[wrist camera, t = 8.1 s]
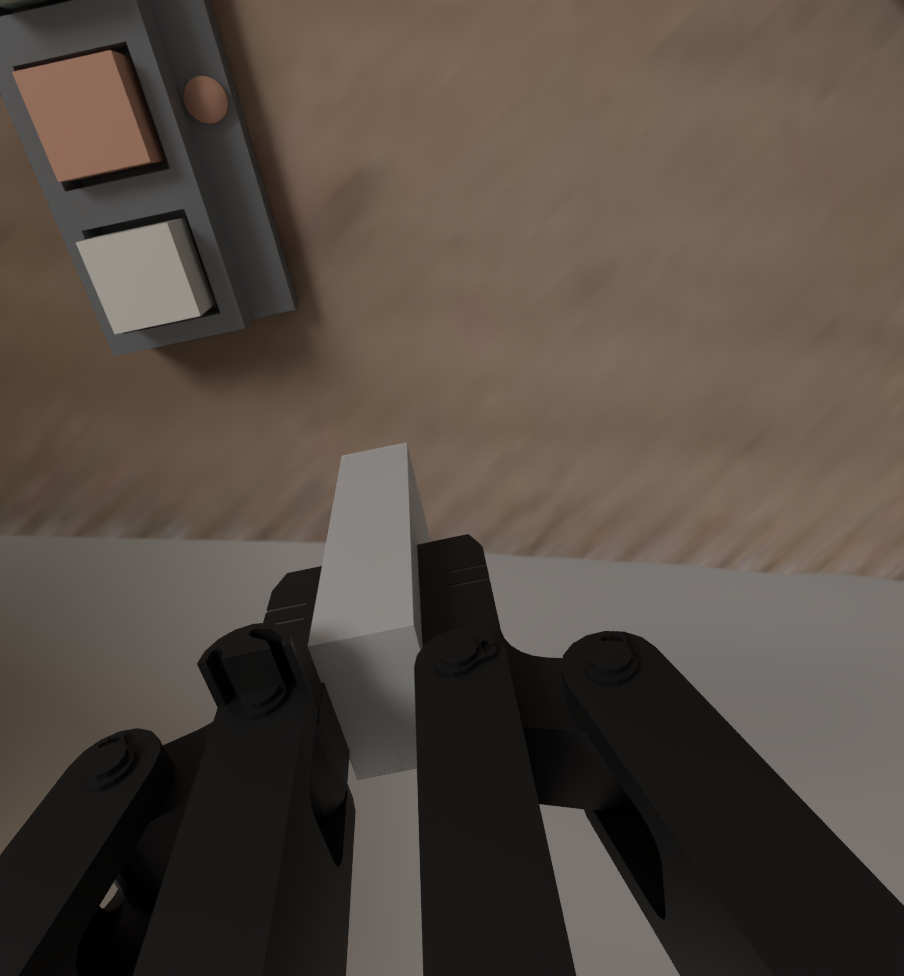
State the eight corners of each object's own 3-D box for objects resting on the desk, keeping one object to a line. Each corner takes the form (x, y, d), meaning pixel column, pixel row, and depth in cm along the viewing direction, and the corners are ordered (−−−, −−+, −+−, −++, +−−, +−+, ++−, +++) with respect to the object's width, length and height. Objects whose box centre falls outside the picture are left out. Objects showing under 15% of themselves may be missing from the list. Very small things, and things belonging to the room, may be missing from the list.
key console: (157, -176, 30) (127, -219, 26) (298, 304, 39) (289, 319, 36) (-53, -129, 30) (-111, -165, 26) (138, 338, 39) (114, 356, 36)
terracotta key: (135, 58, 32) (110, 49, 29) (170, 160, 34) (150, 161, 31) (44, 78, 32) (11, 71, 29) (84, 179, 34) (58, 181, 31)
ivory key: (184, 217, 34) (166, 222, 31) (215, 303, 36) (200, 316, 33) (100, 235, 34) (75, 242, 31) (135, 320, 36) (114, 334, 33)
